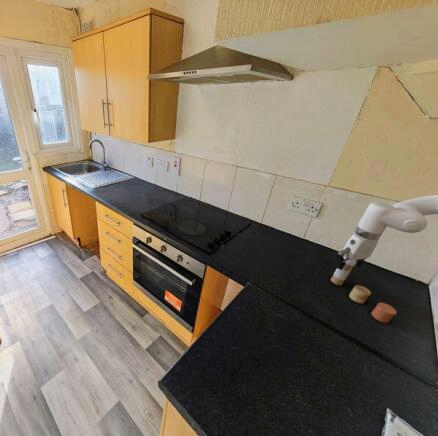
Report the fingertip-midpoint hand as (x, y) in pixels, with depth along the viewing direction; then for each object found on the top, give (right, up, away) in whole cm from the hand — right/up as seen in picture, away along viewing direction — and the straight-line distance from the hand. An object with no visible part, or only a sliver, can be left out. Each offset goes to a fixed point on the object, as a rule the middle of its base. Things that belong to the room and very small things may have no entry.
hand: (347, 266), depth 97 cm
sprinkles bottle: (0, -8, +5) cm, 10 cm away
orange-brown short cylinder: (+3, -17, -10) cm, 20 cm away
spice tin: (+2, -13, -3) cm, 13 cm away
